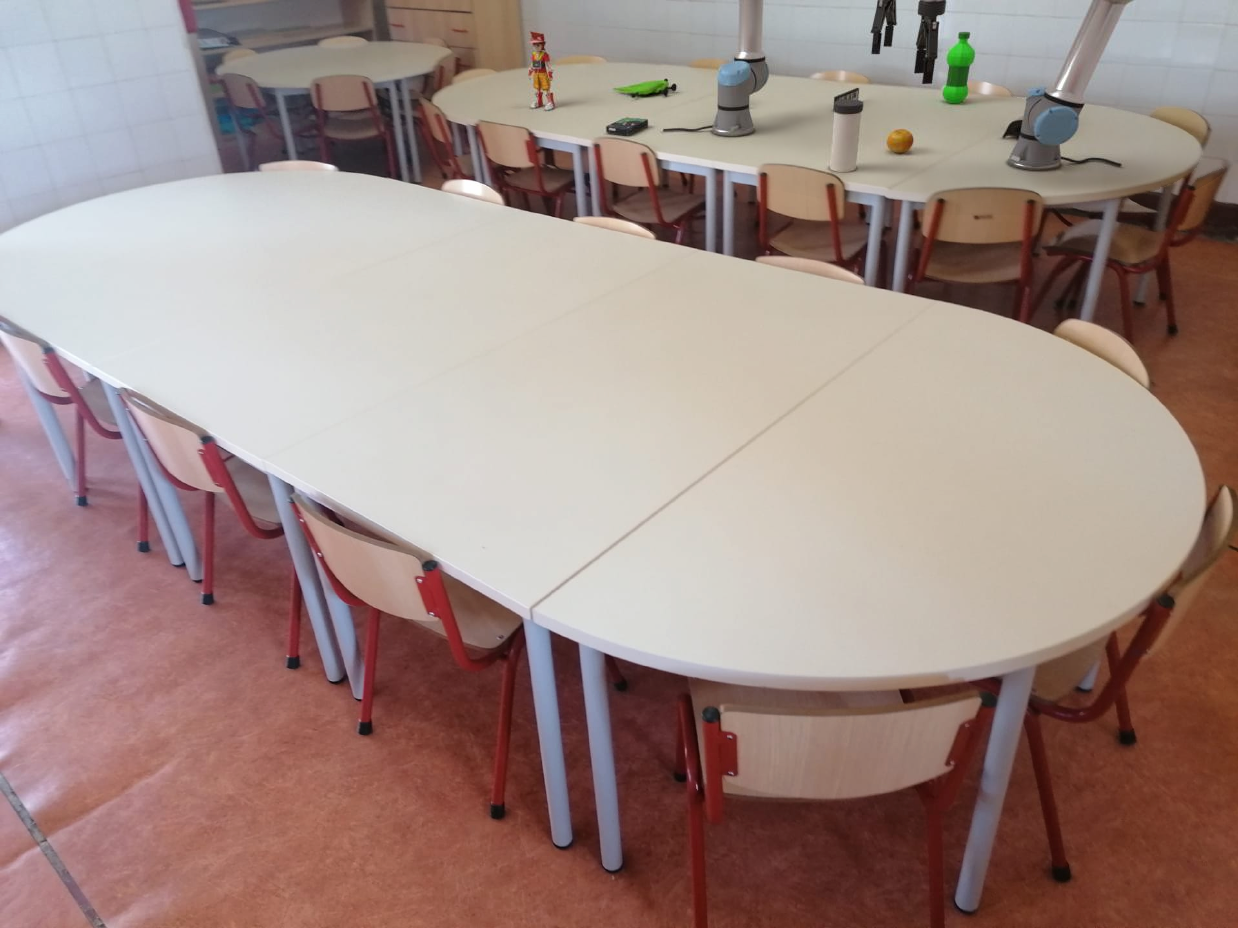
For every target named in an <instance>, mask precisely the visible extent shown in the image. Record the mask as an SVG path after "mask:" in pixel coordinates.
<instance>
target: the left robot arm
mask: <svg viewBox="0 0 1238 928" xmlns="http://www.w3.org/2000/svg"><path fill="white" fill-rule="evenodd" d="M738 5H739V7H738V47H737V48H738V49H737V51H736V52H735V54H734V55H733V61H730V62H726V63H723V64H721V65H720V67H719V68H718V70H717V111H716V114H715V118H714V120H713V124H711V125H706V126H702V127H697V128H686V127H671V128H663V129H662V132H671V131H672V132H673V131H684V132H698V131H702V130H707V129H711V128H712V133H713V134H715V135H717V136H721V137H741V136H746V135H750V134H752V133H754V127H755V126H754V122H753V118H752V115H751V111H750V96H751V95H753V94H755V93H757V92H759V91H761V90H762V89H763V88H764V87H765V86H766V84H767V83H768V81H769V77H770V68H769V65H768V63H767V62H766V53H765V52H764V50H762V48H763V23H764V20H763V19H764V0H739V4H738ZM873 17H874V18H873V23H872V26H871V30H870V34H872V43H871V53H870V54H871V55H880V54H881V46H882V36H883V32H882V30H883V27H884V23H885V22H886V25H885V28H884V37H883V47H885V48H886V47H888V48H891V47H892V46H893V39H894V28H895V26H898V22H897V0H877V2H876V9H875V12H874V16H873Z"/></svg>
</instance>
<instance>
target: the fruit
mask: <svg viewBox="0 0 1238 928" xmlns="http://www.w3.org/2000/svg"><path fill="white" fill-rule="evenodd" d="M914 140H915V139H914V136H913V134H912V132H910V130H907V129H904V128H898V129H894V130H893V131H891V132H890V133H889V134H888V136H887V138H886V147H887V148H888V149H889V150H890V152H893V153H905V152H907V151H909V150H910V149H911V148H912V147H913V145H914V142H915V141H914Z"/></svg>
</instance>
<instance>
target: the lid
mask: <svg viewBox="0 0 1238 928" xmlns="http://www.w3.org/2000/svg"><path fill="white" fill-rule="evenodd" d="M833 106H834V110H833V112H834V113H835V112H836V113H840V114H855V113H860V112H861V113H862V112H863V111H864V102H863V101H862V100H861V99H860V100H859V99H858V100H854V99H844V100H838V101H835V102H834V101H833Z"/></svg>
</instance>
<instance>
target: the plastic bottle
mask: <svg viewBox="0 0 1238 928" xmlns="http://www.w3.org/2000/svg"><path fill="white" fill-rule="evenodd" d="M970 36H971V32H970V31H959V32H958V36H957V39H958V42H957V43H956V44H954V45H953V46H952V47H951V48H950V49H949V50H948V52H947V54H946V63H947V64H948V69H947V70H948V71H947V76H946V77H947V78H946V84H945V85H944V87H943V90H942V97H943V99H944V100H945V101H946V102H947V103H948V104H960V103H961V102H963V101H964V100H966V98H967V96H968V95H969V85H968V79H969V73H970V67H971V65H972V64H973V63H974V61H975V57H976V51H975V49H974V47H972V45H971V44H970V43H969V42H968V41H969V39H970V38H971V37H970Z"/></svg>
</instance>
